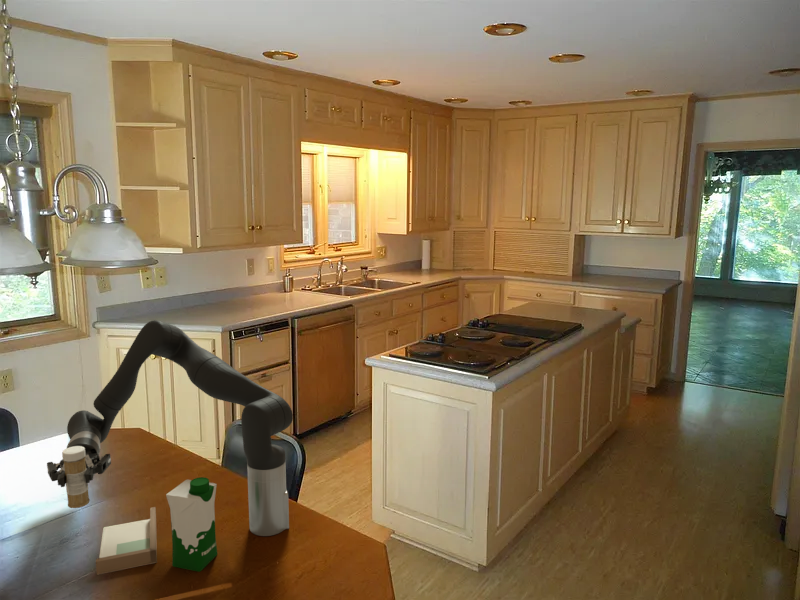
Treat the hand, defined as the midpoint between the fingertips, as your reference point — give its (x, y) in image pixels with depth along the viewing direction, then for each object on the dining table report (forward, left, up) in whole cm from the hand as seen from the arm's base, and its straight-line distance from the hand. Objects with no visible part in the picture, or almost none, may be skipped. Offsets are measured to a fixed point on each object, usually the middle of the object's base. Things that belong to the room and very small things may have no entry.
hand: (74, 481), depth 133 cm
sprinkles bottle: (0, -3, -7) cm, 8 cm away
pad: (-11, +3, -18) cm, 21 cm away
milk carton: (-24, +12, -19) cm, 33 cm away
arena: (-10, 0, -18) cm, 21 cm away
